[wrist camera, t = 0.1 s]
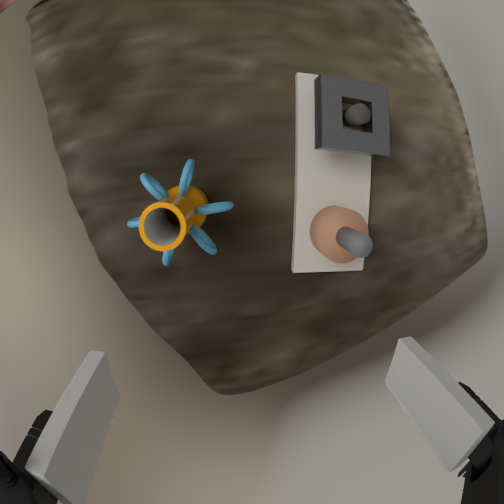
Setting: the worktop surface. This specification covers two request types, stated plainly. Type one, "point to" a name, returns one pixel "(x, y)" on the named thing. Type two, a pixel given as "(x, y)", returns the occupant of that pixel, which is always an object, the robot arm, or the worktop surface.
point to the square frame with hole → (330, 116)
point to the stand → (355, 116)
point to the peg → (340, 234)
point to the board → (322, 184)
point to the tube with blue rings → (176, 215)
